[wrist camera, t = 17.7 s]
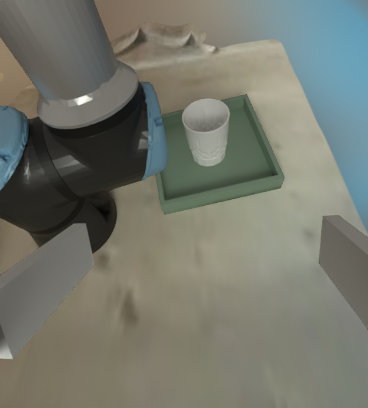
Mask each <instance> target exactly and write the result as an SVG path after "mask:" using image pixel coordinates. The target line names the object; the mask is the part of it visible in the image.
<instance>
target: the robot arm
mask: <svg viewBox="0 0 368 408" xmlns="http://www.w3.org/2000/svg"><path fill="white" fill-rule="evenodd" d="M0 37H1V39H2V40H3V42H4V43H5V44H6V46H7V47H8V49H9V50H10V51H11V53H12V54H13V56H14V57H15V59H16V60H17V61H18V63H19V64H20V66H21V67H22V68H23V70H24V71H25V73H26V74H27V75H28V77H29V78H30V80H31V81H32V83H33V84H34V85H35V87H36V88H37V90H38V91H39V92H40V95H39V100H38V104H37V113H38V115H39V117H36V118H33V119H27V117H26V115H25V114H24V113H23V112H21V111H18V110H17V109H15V108H13V107H8V106H0V218H2V219H4V220H6V221H8V222H10V223H12V224H14V225H16V226H18V227H20V228H22V229H24V230H26V231H28V232H29V234H30V235H31V236H32V238H33V239H34V241H35V242H36V243H37V245H38V246H39V247H40V248H39V249H37V250H36V251H34V252H33V253H32V254H30V255H29V256H27V257H26V258H24V259H23V260H22V261H20V262H19V263H17V264H16V265H15V266H13V267H12V268H10V269H9V270H7V271H6V272H5V273H3V274H2V275H0V358H3V359H14V357H15V356H16V355H17V354H18V353H19V352H20V350H21V349H22V348H23V347H24V346H25V345H26V343H27V342H28V341H29V340H30V339H31V338H32V336H33V335H34V334H35V333H36V332H37V331H38V329H39V328H40V327H41V326H42V325H43V324H44V322H45V321H46V320H47V319H48V318H49V317H50V316H51V314H52V313H53V312H54V311H55V310H56V309H57V307H58V306H59V305H60V304H61V303H62V302H63V300H64V299H65V298H66V297H67V296H68V295H69V293H70V292H71V291H72V290H73V289H74V288H75V286H76V285H77V284H78V283H79V282H80V281H81V279H82V278H83V277H84V276H85V275H86V274H87V272H88V271H89V270H90V269H91V268H92V267H93V265H94V260H93V255H92V254H93V253H94V252H96V251H97V250H98V249H99V248H100V247H102V246H103V245H104V243H105V242H106V241H107V240H108V238H109V237H110V235H111V233H112V231H113V229H114V227H115V223H116V216H117V213H116V207H115V204H114V202H113V200H112V198H111V197H110V196H109V195H108V194H107V192H106V191H108V190H112V189H115V188H118V187H121V186H125V185H128V184H131V183H134V182H138V181H142V180H145V179H146V178H147V177H150V176H152V175H155V174H157V173H160V172H162V171H163V170H164V169H165V168H166V166H167V164H168V147H167V140H166V134H165V129H164V125H163V122H162V117H161V110H160V106H159V102H158V99H157V96H156V92H155V90H154V88H153V85H152V84H151V83H149V82H142V81H141V82H140V83H139V80H138V77H137V74H136V72H135V71H134V70H133V69H132V68H131V67H130V66H128V65H126V64H124V63H122V62H120V61H118V60H117V59H116V57H115V54H114V52H113V49H112V46H111V44H110V41H109V39H108V37H107V34H106V31H105V28H104V26H103V23H102V21H101V18H100V16H99V13H98V10H97V8H96V5H95V3H94V0H0ZM319 264H320V265H321V267H322V268H323V269H324V271H325V272H326V274H327V275H328V276H329V278H330V279H331V280H332V282H333V283H334V284H335V286H336V287H337V288H338V290H339V291H340V293H341V294H342V295H343V297H344V298H345V299H346V301H347V302H348V303H349V305H350V306H351V308H352V309H353V310H354V312H355V313H356V314H357V316H358V317H359V318H360V320H361V321H362V323H363V324H364V325H365V327H366V328H367V329H368V237H367V236H366V235H364V234H363V233H362V232H360V231H359V230H358V229H356V228H355V227H354V226H352V225H351V224H350V223H348V222H347V221H346V220H344V219H343V218H342V217H340V216H339V215H335V216H323V220H322V231H321V242H320V254H319Z"/></svg>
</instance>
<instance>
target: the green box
mask: <svg viewBox="0 0 368 408" xmlns="http://www.w3.org/2000/svg"><path fill="white" fill-rule="evenodd" d="M221 101H222V102H223V103H225V104H226V105H227V107H228V109H229V112H230V117H229V129H228V140H227V146H226V153H225V157H224V159H223V160H222V161H221V162H220V163H218V164H216V165H214V166H207V167H206V166H202V165H199V164H198V163H197V162H195V161H194V159H193V156H192V153H191V150H190V148H189V144H188V141H187V138H186V133H185V130H184V126H183V122H182V114H183V111H184V110H180V111H176V112H172V113H168V114H164V115H161V117H162V122H163V125H164V129H165V134H166V140H167V147H168V164H167V166H166V168H165V169H164V170H163V171H162V172H160V173H157V174H156V178H157V185H158V191H159V198H160V204H161V207H162V210H163V212H164V214H169V213H174V212H178V211H183V210H187V209H191V208H196V207H200V206H204V205H209V204H213V203H218V202H222V201H226V200H231V199H235V198H239V197H244V196H248V195H253V194H257V193H261V192H266V191H270V190H274V189H279V188H281V186H282V183H283V181H284V178H285V177H284V175H283V173H282V170H281V168H280V166H279V164H278V162H277V159H276V157H275V155H274V153H273V151H272V148H271V146H270V144H269V142H268V140H267V137H266V135H265V133H264V131H263V129H262V126H261V124H260V122H259V120H258V118H257V116H256V113H255V111H254V109H253V107H252V105H251V102H250V100H249V98H248V96H247V94H245V95H241V96H237V97H233V98H229V99H225V100H221Z"/></svg>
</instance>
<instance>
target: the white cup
mask: <svg viewBox="0 0 368 408" xmlns="http://www.w3.org/2000/svg"><path fill="white" fill-rule="evenodd" d="M229 117H230V112H229V109H228V107H227V105H226V104H225V103H223V102H222V101H220V100H217V99H213V98H204V99H199V100H196V101H194V102H192V103H191V104H189V105H188V106H187V107H186V108H185V109H184V111H183V114H182V122H183V126H184V130H185V133H186V138H187V141H188V144H189V148H190V150H191V153H192V156H193V159H194V161H195V162H197V163H198V164H199V165H202V166H206V167H207V166H214V165H216V164H218V163H220V162H221V161H222V160H223V159H224V157H225V153H226V146H227V140H228V129H229Z"/></svg>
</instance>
